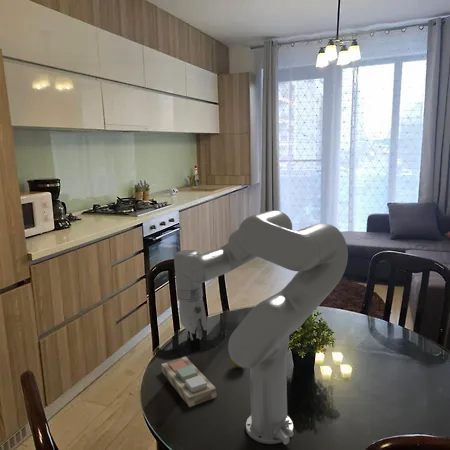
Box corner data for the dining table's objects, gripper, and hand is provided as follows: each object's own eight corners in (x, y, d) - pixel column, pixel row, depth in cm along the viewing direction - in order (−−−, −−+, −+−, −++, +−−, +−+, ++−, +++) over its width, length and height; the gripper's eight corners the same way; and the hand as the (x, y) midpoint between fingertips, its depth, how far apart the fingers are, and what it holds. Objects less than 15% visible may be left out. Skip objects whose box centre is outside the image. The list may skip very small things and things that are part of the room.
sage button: (197, 380, 131) (197, 372, 131) (183, 384, 129) (182, 377, 129) (191, 372, 136) (190, 365, 135) (177, 377, 133) (176, 369, 133)
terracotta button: (189, 373, 138) (188, 366, 137) (175, 378, 135) (174, 370, 135) (183, 367, 142) (182, 360, 142) (169, 371, 140) (169, 364, 139)
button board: (216, 397, 125) (216, 388, 124) (189, 407, 121) (188, 397, 120) (186, 364, 145) (185, 356, 144) (162, 371, 141) (161, 363, 140)
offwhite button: (207, 390, 125) (206, 382, 125) (192, 396, 123) (191, 387, 123) (200, 383, 130) (199, 375, 129) (185, 387, 127) (185, 379, 127)
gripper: (212, 296, 116) (216, 357, 119) (191, 283, 129) (195, 338, 132) (188, 302, 113) (193, 364, 116) (168, 288, 126) (173, 344, 129)
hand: (194, 350), depth 124 cm, fingers closed
